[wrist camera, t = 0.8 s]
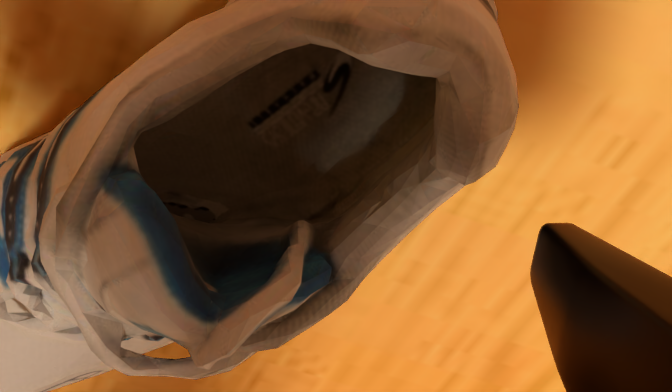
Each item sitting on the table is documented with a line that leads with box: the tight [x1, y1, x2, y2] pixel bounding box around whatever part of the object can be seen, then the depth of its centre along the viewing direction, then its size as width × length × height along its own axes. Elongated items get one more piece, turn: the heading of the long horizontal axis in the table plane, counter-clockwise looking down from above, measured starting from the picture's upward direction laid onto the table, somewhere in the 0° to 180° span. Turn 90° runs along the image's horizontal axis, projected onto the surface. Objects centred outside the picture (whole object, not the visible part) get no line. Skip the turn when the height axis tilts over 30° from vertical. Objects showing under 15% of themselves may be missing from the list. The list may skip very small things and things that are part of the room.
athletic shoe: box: [0, 0, 519, 392], centre depth 18 cm, size 10×23×12 cm, turn 135°
